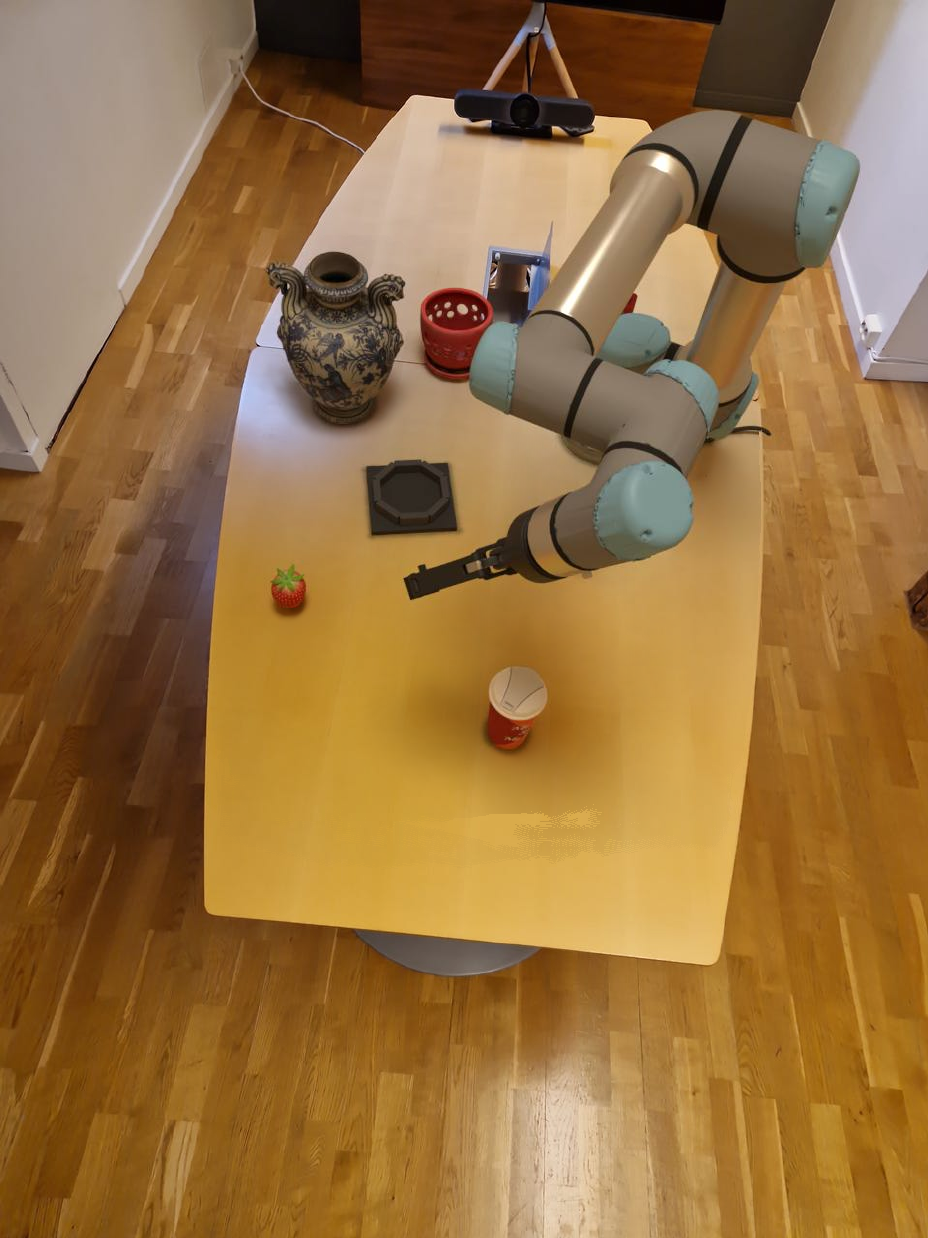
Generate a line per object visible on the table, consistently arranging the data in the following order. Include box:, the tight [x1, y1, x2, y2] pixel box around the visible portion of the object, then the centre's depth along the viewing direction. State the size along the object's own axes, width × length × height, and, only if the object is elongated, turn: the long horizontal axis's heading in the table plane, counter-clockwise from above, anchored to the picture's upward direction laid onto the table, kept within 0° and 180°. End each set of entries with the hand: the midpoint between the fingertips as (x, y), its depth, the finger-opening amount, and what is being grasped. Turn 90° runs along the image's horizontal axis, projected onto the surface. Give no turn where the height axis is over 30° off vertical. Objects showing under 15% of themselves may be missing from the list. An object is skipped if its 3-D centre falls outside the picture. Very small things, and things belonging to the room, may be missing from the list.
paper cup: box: [487, 665, 548, 750], centre depth 111 cm, size 8×8×14 cm
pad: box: [365, 459, 458, 536], centre depth 136 cm, size 14×14×3 cm
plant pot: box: [419, 287, 494, 380], centre depth 150 cm, size 13×13×12 cm
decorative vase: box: [265, 251, 406, 425], centre depth 135 cm, size 21×19×28 cm
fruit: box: [270, 563, 307, 608], centre depth 122 cm, size 5×5×8 cm
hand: (458, 573), depth 97 cm, fingers open, 13 cm apart
